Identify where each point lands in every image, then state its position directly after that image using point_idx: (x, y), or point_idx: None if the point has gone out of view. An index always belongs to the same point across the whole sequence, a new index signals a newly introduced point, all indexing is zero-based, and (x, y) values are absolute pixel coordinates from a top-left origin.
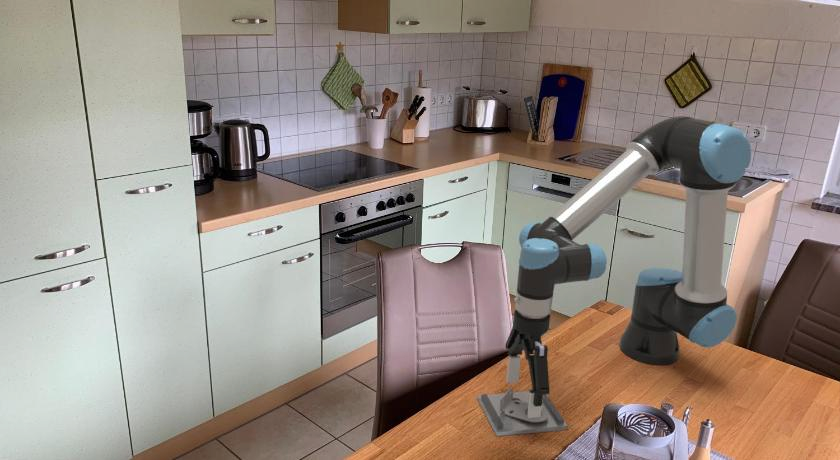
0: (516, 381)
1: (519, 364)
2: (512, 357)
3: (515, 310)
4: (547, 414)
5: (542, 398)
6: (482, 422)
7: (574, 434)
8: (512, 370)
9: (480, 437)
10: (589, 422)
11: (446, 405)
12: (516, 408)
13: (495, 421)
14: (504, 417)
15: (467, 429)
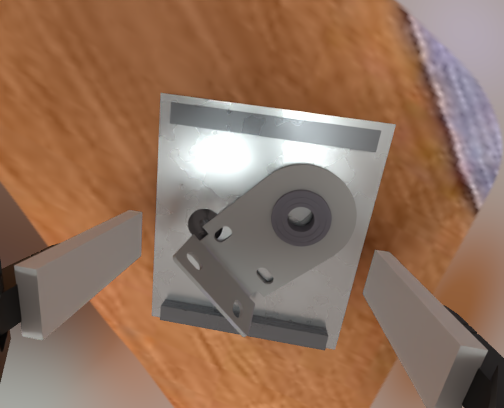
0: (139, 221)
1: (79, 250)
2: (34, 322)
3: None
4: (331, 178)
5: (489, 345)
6: (263, 342)
7: (421, 113)
8: (104, 268)
9: (320, 373)
10: (384, 7)
11: (171, 384)
12: (253, 252)
13: (300, 345)
14: (277, 299)
15: (279, 385)
